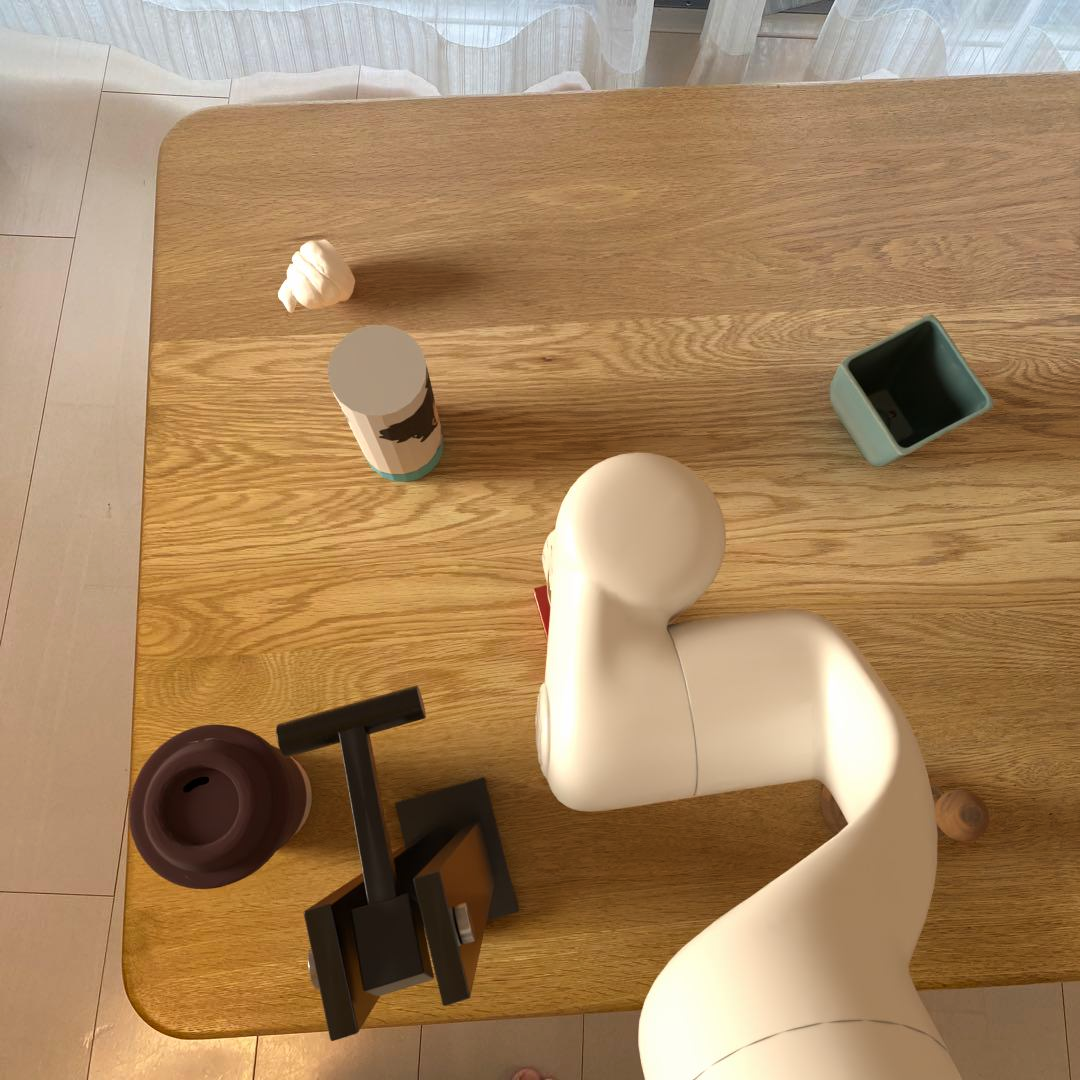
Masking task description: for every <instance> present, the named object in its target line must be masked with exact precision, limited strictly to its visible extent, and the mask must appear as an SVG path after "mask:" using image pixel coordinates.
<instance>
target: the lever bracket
mask: <svg viewBox="0 0 1080 1080" xmlns="http://www.w3.org/2000/svg"><path fill="white" fill-rule="evenodd" d="M394 807H395V811H396V815H397V819H398V820H397V821H398V825H399V828H400V832H401V836H402V841H403V845H402V846H400V847H399V848H398V849H396V850H394V851H392V854H393V859H394V864H395V870H396V875H397V880H398V885H399V891H400V896H401V895H404V894H409V895H410V896H411V897H412V898H413V899H414V900H415V901H416V902H417V903H418V904H419V907H420V912H421V916H422V920H423V925H424V930H425V935H426V940H427V945H428V950H429V955H430V959H431V963H432V967H433V970H434V974H435V975H434V976H435V978H436V979H435V980H436V982H437V987H438V991H439V995H440V1000H441V1004H442V1006H443V1007H447V1006H450V1005H453V1004H456V1003H460V1002H463V1001H466V1000H469V999H471V997H472V991H473V986H474V982H475V977H476V972H477V968H478V963H479V959H480V953H481V950H482V943H483V939H484V935H485V931H486V926H487V922H491V921H495V920H497V919H500V918H504V917H508V916H511V915H514V914H518V913H519V912H520V906H519V902H518V898H517V895H516V891H515V887H514V883H513V879H512V875H511V872H510V868H509V864H508V860H507V856H506V853H505V848H504V845H503V841H502V836H501V834H500V830H499V825H498V822H497V819H496V814H495V810H494V807H493V803H492V799H491V795H490V792H489V788H488V784H487V779H486V777H485V776H482V777H479V778H476V779H473V780H472V779H471V780H469V781H465V782H461V783H458V784H455V785H451V786H448V787H446V788H441V789H438V790H435V791H434V790H433V791H431V792H428V793H423V794H421V795H417V796H414V797H411V798H407V799H404V800H400V801H397V802H394ZM367 905H368V901H367V895H366V889H365V883H364V877H363V872H361V873H360V874H358V875H356V876H355V877H354V878H352V879H351V880H349V881H348V882H346V883H344V884H343V885H341V886H340V887H339V888H337V889H335V890H333V892H331V893H330V894H328V895H326V896H325V897H324V898H322V899H320V900H319V901H317V902H316V903H314V904H313V905H312V906H309V908H307V909H305V910H304V911H303V917H304V922H305V928H306V930H307V931H306V932H307V937H308V941H309V946H310V949H309V950H308V952H307V968H308V973H309V978H310V981H311V984H312V986H313V988H314V989H315V990H319V992H320V998H321V1003H322V1007H323V1011H324V1017H325V1023H326V1026H327V1031H328V1035H329V1040H330V1041H331V1042H335V1041H338V1040H342V1039H344V1038H347V1037H351V1036H353V1035H354V1036H355V1035H357V1034H358V1033H359V1032H360V1031H361V1029H362V1027H363V1025H364V1024H365V1022H366V1021H367V1019H368V1017H369V1016H370V1014H371V1012H372V1011H373V1009H374V1007H375V1006H376V1004H377V1003H378V1001H379V999H380V998H381V996H376V995H373V994H370V993H367V992H365V991H364V990H363V986H362V980H361V973H360V967H359V961H358V955H357V949H356V943H355V937H354V930H353V924H352V918H351V911H352V910H354V909H357V908H361V907H364V906H367Z"/></svg>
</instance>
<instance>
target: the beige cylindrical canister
mask: <svg viewBox="0 0 1080 1080" xmlns="http://www.w3.org/2000/svg"><path fill="white" fill-rule="evenodd" d="M332 350H333V351H332V353H331V355H330V357H329V359H328V366H327V378H328V382H329V386H330V390H331V391H332V393H333V396H334V397H335V399H336V402H337V404H338V405H339V407H340V409H341V411H342V413H343V416H344V418H345V419H346V422H347V424H348V425H349V427H350V429H351V432H352V433H353V436H354V438H355V440H356V441H357V444H358V445H359V447H360V450H361V451H362V453H363V457H364V458H365V460H366V462H367V463H368V464H369V466H370V467H371V469H372V470H373V472H375V473H376V474H378V475H379V476H380V477H382V478H384V479H386V480H389V481H392V482H395V483H396V482H397V483H399V482H400V483H408V482H413V481H416V480H421V479H422V478H423V477H425V476H427V475H428V474H430V473H431V472H432V471H434V469H435V468H436V466H437V465H438V464H439V462H440V460H441V457H442V455H443V453H444V445H445V437H444V434H443V430H442V425H441V421H440V417H439V413H438V408H437V403H436V399H435V395H434V391H433V386H432V382H431V378H430V374H429V369H428V364H427V360H426V358H425V354H424V351H423V349H422V347H421V346H420V345H419V343H418V341H417V340H416V339H415V338H414V337H413V336H412V335H410V334H408V333H407V332H406V331H405V330H403V329H401V328H398V327H395V326H392V325H390V324H370V325H366V326H362V327H358V328H356V329H354V330H353V331H351V332H350V333H348V334H346V335H345V336H343V338H342V339H341V340H340V341H339V342H338V343H337V344H336V345H335V347H334V349H332Z"/></svg>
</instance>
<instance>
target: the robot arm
mask: <svg viewBox="0 0 1080 1080" xmlns="http://www.w3.org/2000/svg"><path fill="white" fill-rule="evenodd" d="M726 545H727V529H726V523H725V517H724V515H723V510H722V508H721V506H720V503H719V501H718V500H717V497H716V495H715V494H714V492H713V491H712V489H711V488H710V486H709V485H708V483H706V482H705V480H704V479H703V478H702V477H701V476H700V475H699V474H698V473H696V471H694V470H693V469H692V468H690V467H689V466H687V465H685V464H683V463H682V462H680V461H678V460H676V459H673V458H671V457H668V456H666V455H662V454H658V453H652V452H639V451H638V452H635V451H634V452H627V453H620V454H618V455H615V456H612V457H608V458H606V459H604V460H602V461H600V462H598V463H595V464H594V465H593V466H591V467H590V468H588V469H587V470H586V471H584V472H583V473H582V474H581V475H579V477H578V478H577V479H576V481H575V482H574V483H573V484H572V485H571V487H570V488H569V490H568V491H567V493H566V495H565V497H564V498H563V500H562V502H561V505H560V507H559V511H558V514H557V518H556V522H555V527H554V529H553V530H552V531H551V532H550V533H549V534H548V536H547V537H546V539H545V542H544V545H543V549H542V553H541V554H542V555H541V563H542V568H543V573H544V576H545V580H546V585H547V592H548V600H549V603H550V607H551V609H550V622H549V635H548V643H547V647H546V660H545V661H546V662H545V671H544V672H545V674H544V682H543V683H542V684H541V686H540V688H539V691H538V695H537V699H536V702H537V703H536V710H535V718H534V721H535V722H534V723H535V726H534V727H535V728H534V730H535V731H536V732H535V746H536V750H537V756H538V757H537V761H538V764H540V770H541V773H542V775H543V776H544V777H545V779H546V781H547V784H548V786H549V788H550V790H551V793H552V794H553V795H554V797H555V798H556V799H557V801H558V802H560V803H561V804H563V805H564V806H566V807H567V808H569V809H572V810H575V811H578V812H579V811H580V812H588V813H589V812H591V813H592V812H607V811H612V810H613V811H615V810H619V809H620V810H621V809H627V808H633V807H640V806H646V805H653V804H659V803H666V802H672V801H678V800H685V799H691V798H692V799H693V798H699V797H705V796H711V795H717V794H724V793H731V792H736V791H742V790H743V791H744V790H750V789H756V788H761V787H762V788H763V787H769V786H779V785H785V784H792V783H799V782H805V781H811V780H815V781H818V782H820V783H821V784H822V785H823V786H824V785H825V786H826V787H827V788H828V790H829V791H830V792H831V794H832V795H833V797H834V799H835V801H836V802H837V804H838V806H839V807H840V809H841V811H842V813H843V815H844V817H845V819H846V820H847V822H848V825H847V826H846V827H845V828H844V829H843V830H841V831H840V832H839V833H838V834H837V835H834V836H833V837H832V838H830V839H828V840H827V841H826V842H824V843H823V844H822V845H821V846H820V847H818V848H817V849H815V850H814V851H812V852H811V853H810V854H808V855H807V856H806V857H804V858H803V859H801V860H800V861H799V862H798V863H795V864H794V865H792V867H790V868H789V869H787V870H786V871H785V872H783V873H782V874H780V876H778V877H776V878H775V879H773V880H772V881H770V882H768V884H766V885H765V886H763V887H762V888H760V889H759V890H758V891H756V892H755V893H754V894H752V895H751V896H750V897H748V898H746V899H745V900H744V901H742V902H740V903H739V904H737V905H736V906H734V907H733V908H731V909H730V910H729V911H727V912H726V913H724V914H723V915H722V916H720V917H719V918H717V919H716V920H714V921H713V922H712V923H711V924H709V925H708V926H707V927H706V928H705V929H703V930H702V931H701V932H700V933H699V934H697V935H696V936H695V937H693V938H692V939H691V940H690V941H688V942H687V943H685V945H684V946H682V947H681V948H680V949H679V950H678V951H677V952H676V953H675V954H674V955H673V957H671V959H669V961H668V962H667V964H666V965H665V966H664V968H663V969H662V970H661V971H660V973H659V974H658V975H657V977H656V978H655V979H654V981H653V983H652V985H651V987H650V989H649V991H648V993H647V995H646V997H645V999H644V1002H643V1005H642V1009H641V1012H640V1016H639V1019H638V1020H639V1021H638V1035H637V1036H638V1038H637V1039H638V1041H637V1042H638V1043H637V1045H638V1051H639V1057H640V1063H641V1068H642V1072H643V1077H644V1080H963V1078H962V1076H961V1074H960V1072H959V1070H958V1068H957V1066H956V1064H955V1061H954V1060H953V1057H952V1055H951V1053H950V1051H949V1049H948V1048H947V1046H946V1044H945V1041H944V1040H943V1038H942V1037H941V1034H940V1032H939V1031H938V1029H937V1027H936V1025H935V1022H934V1021H933V1019H932V1017H931V1016H930V1014H929V1012H928V1011H927V1008H926V1007H925V1004H924V1003H923V1001H922V999H921V998H920V995H919V993H918V991H917V989H916V986H915V985H914V982H913V979H912V975H911V973H910V963H911V960H912V958H913V955H914V952H915V950H916V947H917V944H918V942H919V939H920V936H921V933H922V931H923V928H924V926H925V924H926V921H927V917H928V914H929V909H930V905H931V901H932V897H933V893H934V889H935V883H936V876H937V869H938V868H937V867H938V845H939V844H938V841H939V839H938V834H937V824H936V815H935V805H934V800H933V796H932V791H931V787H930V783H931V782H930V778H929V774H928V771H927V767H926V763H925V761H924V757H923V753H922V750H921V747H920V745H919V742H918V739H917V737H916V734H915V732H914V730H913V727H912V726H911V724H910V722H909V720H908V717H907V716H906V714H905V712H904V711H903V709H902V708H901V706H900V704H899V703H898V701H897V700H896V698H895V697H894V696H893V694H892V692H890V690H889V689H888V687H887V685H886V684H885V683H884V682H883V680H882V679H881V677H880V676H879V674H878V673H877V672H876V670H875V669H874V667H873V666H872V665H871V663H870V661H869V660H868V659H867V658H866V656H865V654H864V653H863V652H862V651H861V649H860V648H859V647H858V645H856V643H855V642H854V641H853V640H852V638H851V637H850V636H849V635H848V634H847V633H846V632H845V631H844V630H843V629H841V628H840V627H839V626H838V625H837V624H835V623H834V622H832V621H831V620H829V619H827V618H826V617H825V616H822V615H820V614H819V613H815V612H812V611H808V610H805V609H797V608H781V609H780V608H779V609H771V610H769V609H768V610H761V611H752V612H744V613H743V612H742V613H735V614H730V615H729V614H728V615H723V616H722V615H721V616H717V617H710V618H703V619H697V620H690V621H684V622H677V623H674V622H676V621H677V620H678V619H679V618H680V617H681V616H682V615H683V614H684V613H686V611H688V610H689V609H690V608H691V607H692V606H693V605H694V604H695V603H697V602H698V601H699V600H700V599H701V598H702V597H703V596H704V594H705V593H706V592H707V590H708V589H709V588H710V587H711V585H713V583H714V581H715V579H716V578H717V575H718V573H719V572H720V569H721V567H722V565H723V561H724V558H725V553H726Z"/></svg>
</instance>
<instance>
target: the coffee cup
mask: <svg viewBox="0 0 1080 1080" xmlns="http://www.w3.org/2000/svg"><path fill="white" fill-rule="evenodd" d="M312 791H313V790H312V785H311V781H310V778H309V776H308V773H307V771H305V769H304V768H303V767H302V765H301V764H300V762H299V761H297V759H295V758H294V757H293V756H292V757H288V758H285V757H284V756H283V755H282V753H281V751H280V748H279V747H276V746H275V745H273V744H271V743H270V742H268V741H267V740H266V739H264V738H263V737H262V736H261V735H259V734H256V732H253V731H250V730H249V729H245V728H242V727H238V726H234V725H228V724H227V725H226V724H205V725H204V724H203V725H199V726H196V727H192V728H189V729H186V730H184V731H183V730H182V731H181V732H179V733H177V734H175V735H173V736H172V737H170V738H169V739H168V740H166V741H165V742H163V743H162V744H161V745H160V746H158V747H157V749H156V750H155V751H154V752H152V754H151V755H150V756H149V757H148V758H147V760H146V761H145V762H144V764H143V766H142V767H141V769H140V771H139V773H138V774H137V777H136V779H135V781H134V784H133V787H132V791H131V795H130V799H129V807H128V821H129V822H128V823H129V829H130V834H131V838H132V841H133V843H134V845H135V848H136V850H137V852H138V854H139V856H140V857H141V858H142V860H143V861H144V862H145V863H146V865H147V866H148V867H149V868H150V869H151V870H152V871H153V872H154V873H155V874H156V875H158V876H160V877H161V878H163V879H164V880H166V881H168V882H169V883H172V884H174V885H177V886H179V887H183V888H186V889H193V890H211V889H218V888H222V887H226V886H230V885H233V884H234V883H237V882H239V881H241V880H244V879H246V878H248V877H249V876H251V875H253V874H255V872H257V871H259V870H260V869H261V868H262V867H263V866H265V865H266V864H267V863H268V862H269V861H270V859H272V857H273V856H274V854H276V852H278V851H280V850H281V849H282V848H283V847H284V846H286V845H287V844H288V843H289V841H291V839H292V838H293V837H294V836H295V835H297V834H298V832H299V831H300V830H301V829H302V827H303V826H304V825H305V823H306V821H307V819H308V817H309V814H310V811H311V808H312V802H313V801H312V800H313V792H312Z"/></svg>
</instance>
